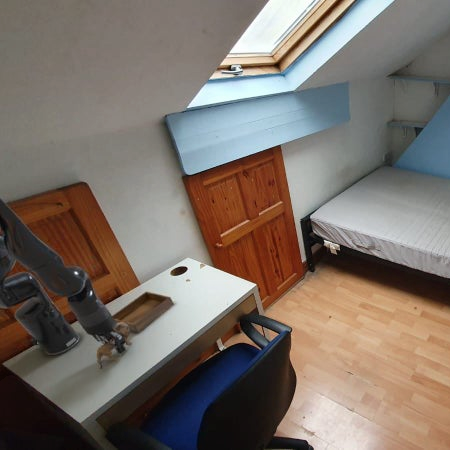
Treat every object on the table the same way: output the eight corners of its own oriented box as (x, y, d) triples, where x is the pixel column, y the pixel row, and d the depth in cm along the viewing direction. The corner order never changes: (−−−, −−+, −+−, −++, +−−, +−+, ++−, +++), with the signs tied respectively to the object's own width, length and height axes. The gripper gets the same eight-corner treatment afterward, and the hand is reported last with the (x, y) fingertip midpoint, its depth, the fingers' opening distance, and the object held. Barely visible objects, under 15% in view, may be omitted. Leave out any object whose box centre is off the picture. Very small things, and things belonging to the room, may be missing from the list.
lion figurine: (125, 335, 119) (115, 319, 115) (139, 335, 119) (129, 319, 115) (94, 370, 106) (81, 353, 102) (109, 370, 107) (97, 353, 102)
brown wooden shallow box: (113, 325, 125) (108, 318, 123) (150, 298, 138) (146, 291, 136) (139, 332, 122) (134, 325, 120) (173, 304, 136) (170, 297, 133)
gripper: (122, 314, 106) (142, 346, 115) (91, 305, 109) (113, 337, 118) (99, 331, 100) (122, 363, 108) (67, 321, 103) (92, 354, 111)
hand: (117, 349), depth 113 cm, fingers closed on lion figurine, 4 cm apart
